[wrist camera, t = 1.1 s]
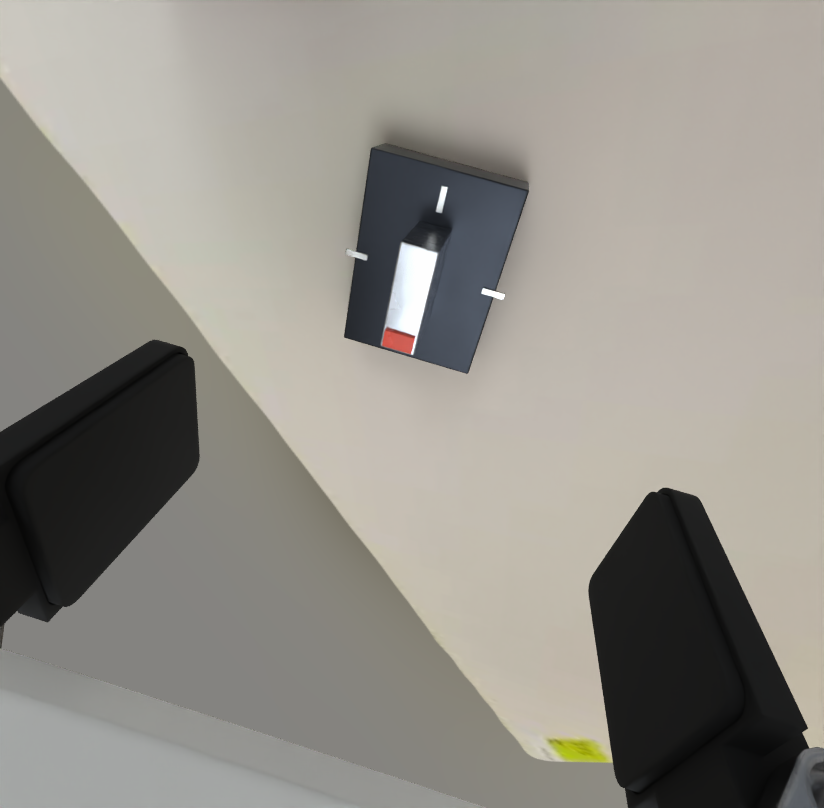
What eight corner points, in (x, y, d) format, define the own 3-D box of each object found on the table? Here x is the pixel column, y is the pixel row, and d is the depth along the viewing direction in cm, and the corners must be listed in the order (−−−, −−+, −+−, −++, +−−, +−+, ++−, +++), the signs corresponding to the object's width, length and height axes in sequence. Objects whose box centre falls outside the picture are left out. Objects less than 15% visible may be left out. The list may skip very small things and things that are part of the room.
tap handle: (419, 219, 27) (399, 242, 23) (452, 229, 27) (438, 254, 23) (399, 313, 31) (378, 348, 26) (428, 321, 31) (412, 358, 26)
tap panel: (375, 140, 28) (359, 144, 26) (538, 184, 28) (540, 194, 25) (348, 318, 35) (334, 336, 32) (480, 357, 35) (475, 378, 32)
